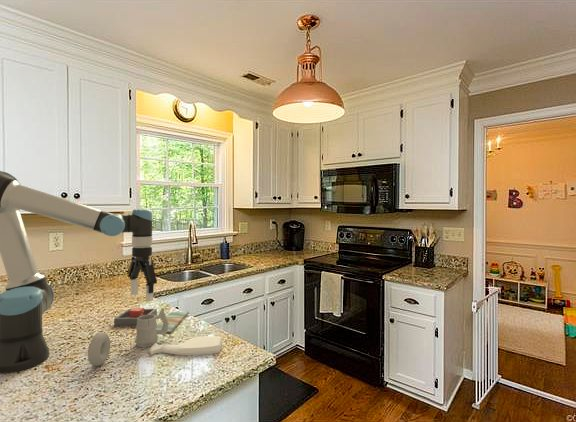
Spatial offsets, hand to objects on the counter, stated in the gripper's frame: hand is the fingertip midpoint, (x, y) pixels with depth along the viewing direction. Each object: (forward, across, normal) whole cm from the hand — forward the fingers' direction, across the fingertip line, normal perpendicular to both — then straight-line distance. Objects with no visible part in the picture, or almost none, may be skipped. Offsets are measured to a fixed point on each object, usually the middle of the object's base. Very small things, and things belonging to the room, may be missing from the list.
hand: (141, 297), depth 133 cm
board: (+13, -2, -12) cm, 18 cm away
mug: (+13, -16, +3) cm, 21 cm away
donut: (+14, -19, +23) cm, 32 cm away
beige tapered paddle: (+14, -31, -2) cm, 34 cm away
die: (+13, +11, -4) cm, 17 cm away
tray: (+13, +12, -4) cm, 18 cm away
